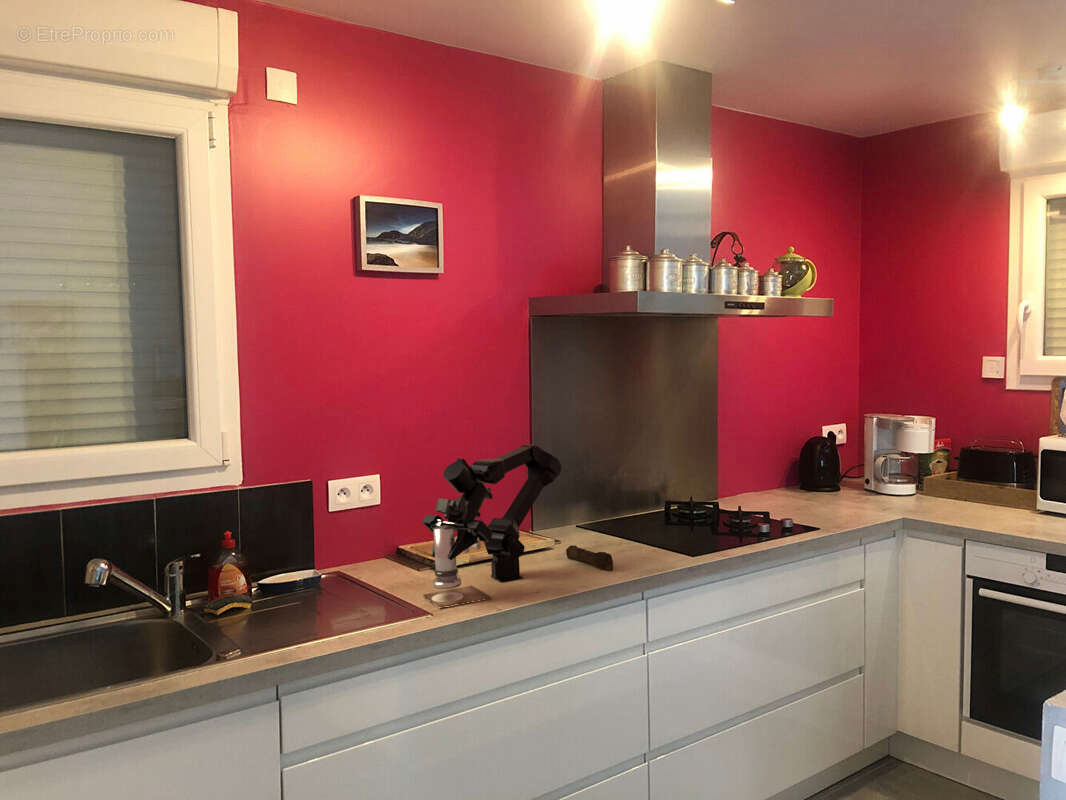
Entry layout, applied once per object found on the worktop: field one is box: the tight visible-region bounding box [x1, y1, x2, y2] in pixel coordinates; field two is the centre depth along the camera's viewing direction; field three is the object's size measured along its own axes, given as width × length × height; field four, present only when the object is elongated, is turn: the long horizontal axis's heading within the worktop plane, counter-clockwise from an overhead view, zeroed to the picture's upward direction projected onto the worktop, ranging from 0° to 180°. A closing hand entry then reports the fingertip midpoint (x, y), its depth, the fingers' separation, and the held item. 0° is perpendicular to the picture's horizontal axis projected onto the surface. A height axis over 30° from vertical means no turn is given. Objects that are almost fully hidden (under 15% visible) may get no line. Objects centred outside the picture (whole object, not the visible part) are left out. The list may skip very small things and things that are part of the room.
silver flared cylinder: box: [432, 525, 462, 590], centre depth 207 cm, size 7×7×14 cm
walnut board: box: [422, 585, 491, 607], centre depth 209 cm, size 13×11×1 cm
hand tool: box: [565, 544, 614, 572], centre depth 234 cm, size 19×4×5 cm, turn 30°
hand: (441, 557), depth 206 cm, fingers closed on silver flared cylinder, 5 cm apart
